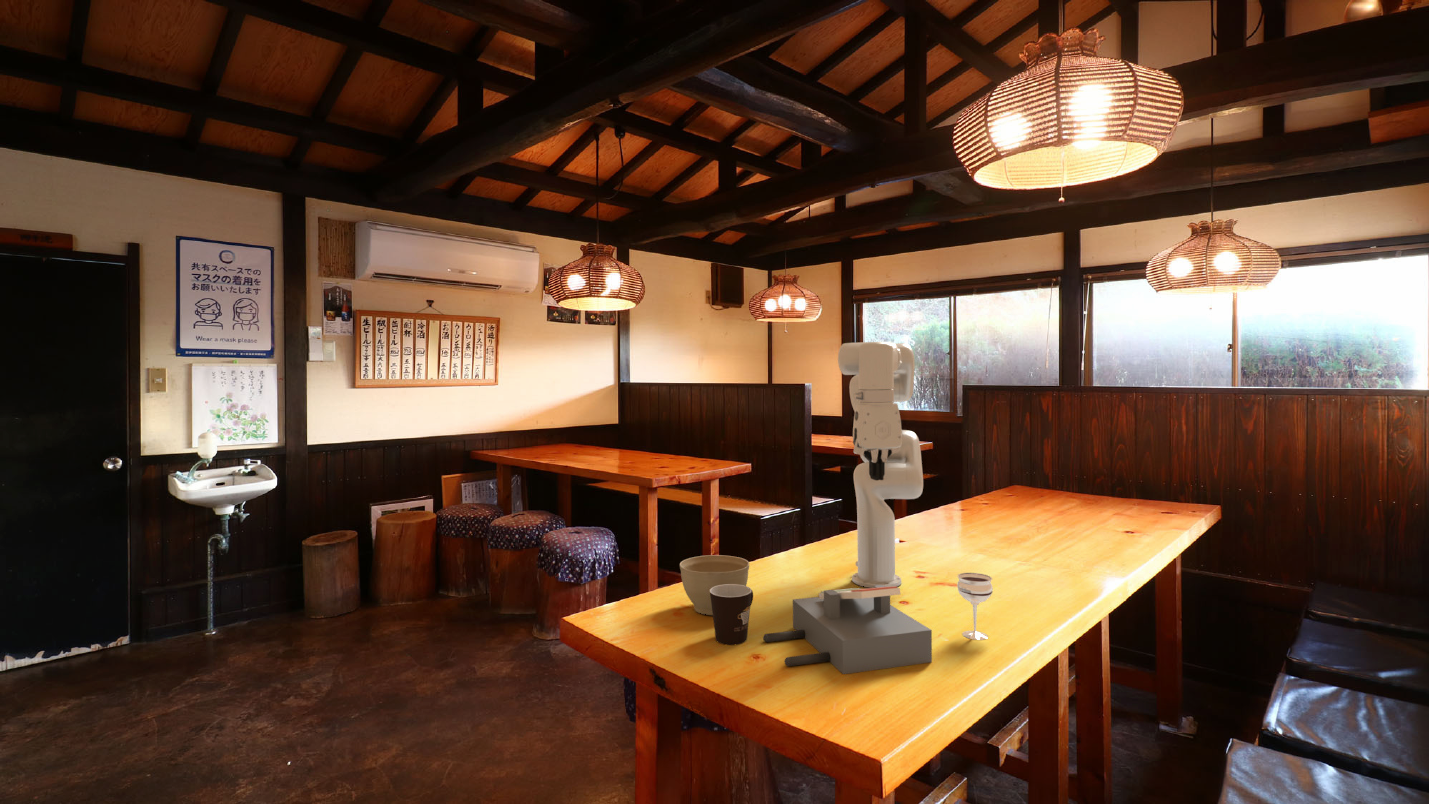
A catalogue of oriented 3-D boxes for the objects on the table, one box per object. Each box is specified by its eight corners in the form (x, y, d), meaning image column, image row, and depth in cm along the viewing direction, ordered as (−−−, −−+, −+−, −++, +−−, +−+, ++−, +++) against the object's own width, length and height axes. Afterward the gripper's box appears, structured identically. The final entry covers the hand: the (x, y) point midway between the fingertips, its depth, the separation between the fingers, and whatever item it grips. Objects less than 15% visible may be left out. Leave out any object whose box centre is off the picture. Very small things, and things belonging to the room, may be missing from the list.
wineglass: (959, 627, 139) (959, 571, 138) (994, 632, 136) (994, 574, 135) (955, 638, 133) (955, 579, 132) (991, 643, 129) (991, 583, 129)
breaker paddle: (818, 600, 138) (817, 591, 139) (854, 596, 140) (853, 588, 141) (861, 599, 120) (859, 590, 120) (901, 595, 122) (900, 586, 122)
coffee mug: (722, 650, 128) (722, 599, 128) (703, 635, 136) (702, 588, 136) (772, 639, 133) (772, 590, 133) (751, 625, 141) (750, 579, 141)
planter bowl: (764, 610, 151) (763, 563, 151) (709, 627, 141) (708, 577, 140) (720, 594, 163) (719, 550, 163) (666, 608, 153) (666, 562, 153)
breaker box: (754, 631, 138) (753, 580, 137) (869, 618, 144) (868, 570, 144) (797, 680, 114) (796, 619, 114) (931, 662, 121) (931, 604, 121)
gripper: (852, 399, 140) (853, 484, 141) (915, 397, 143) (915, 480, 144) (838, 398, 147) (838, 478, 148) (898, 395, 151) (898, 474, 152)
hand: (876, 479), depth 146 cm, fingers closed
